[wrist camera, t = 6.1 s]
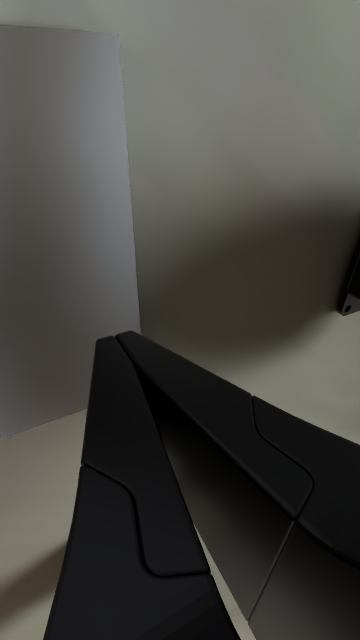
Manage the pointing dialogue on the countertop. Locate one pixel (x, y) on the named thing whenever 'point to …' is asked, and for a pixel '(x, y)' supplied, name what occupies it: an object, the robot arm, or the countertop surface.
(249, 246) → the countertop surface
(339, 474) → the robot arm
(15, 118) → the bearing block
